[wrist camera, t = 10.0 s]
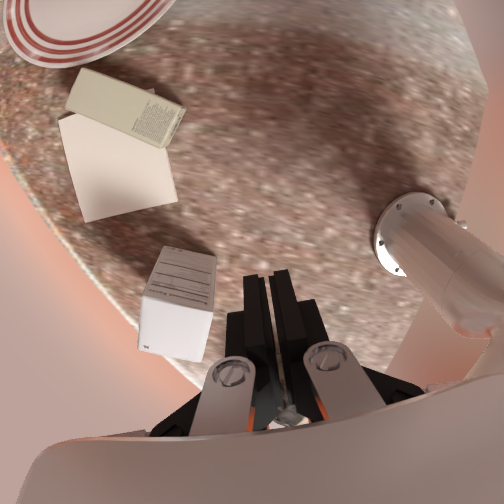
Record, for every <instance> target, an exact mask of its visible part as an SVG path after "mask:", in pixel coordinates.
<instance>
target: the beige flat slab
mask: <svg viewBox="0 0 504 504" xmlns="http://www.w3.org/2000/svg"><path fill="white" fill-rule="evenodd" d="M146 91H149V92H151V93H154V94H155V91H154V88H151V89H148V90H146ZM58 123H59V127H60V132H61V137H62V141H63V146H64V150H65V154H66V158H67V162H68V166H69V170H70V174H71V177H72V181H73V185H74V188H75V192H76V195H77V198H78V202H79V205H80V208H81V211H82V215H83V218H84V221H85V223H87V222H91V221H95V220H99V219H103V218H107V217H111V216H115V215H119V214H124V213H128V212H132V211H136V210H141V209H145V208H150V207H154V206H159V205H163V204H168V203H173V202H177V201H178V198H177V193H176V189H175V185H174V181H173V176H172V172H171V168H170V163H169V159H168V154H167V150H166V147H164V148H162V149H159V148H156V147H154V146H152V145H150V144H147V143H145V142H143V141H141V140H138V139H136V138H134V137H132V136H129V135H127V134H125V133H123V132H120V131H118V130H116V129H113V128H111V127H109V126H106V125H104V124H102V123H99V122H97V121H94V120H92V119H90V118H87V117H85V116H82V115H80V114H77V113H76V114H73V115H71V116H68V117H66V118H64V119H61V120H59V121H58Z"/></svg>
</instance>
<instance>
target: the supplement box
mask: <svg viewBox="0 0 504 504" xmlns="http://www.w3.org/2000/svg"><path fill="white" fill-rule="evenodd" d="M216 266H217V257H214V256H210V255H206V254H202V253H197V252H193V251H188V250H184V249H179V248H175V247H170V246H165V245H164V246H163V248H162V250H161V252H160V255H159V257H158V259H157V262H156V264H155V266H154V268H153V271H152V273H151V275H150V277H149V280H148V282H147V284H146V287H145V289H144V292H143V295H142V298H141V308H140V319H139V333H138V346H137V349H138V350H142V351H146V352H150V353H154V354H159V355H163V356H168V357H173V358H178V359H183V360H188V361H193V362H201V361H202V358H203V354H204V350H205V346H206V342H207V338H208V334H209V330H210V326H211V322H212V317H213V311H214V295H215V282H216Z"/></svg>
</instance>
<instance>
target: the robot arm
mask: <svg viewBox="0 0 504 504" xmlns="http://www.w3.org/2000/svg"><path fill="white" fill-rule="evenodd" d="M466 228H467V223H466V221H465V220H462V221H457V222H455V221H454V220H452V219H451V218H449V217H447V213H446V211H445V208H444V207H443V205H442V204H441V202H440V201H439V200H437V199H436V198H435V197H433V196H431V195H430V194H427V193H424V192H409V193H406V194H404V195H401V196H400V197H398V198H396V199H395V200H394V201H393V202H391V203H390V204H389V205H388V206H387V208H386V209H385V210H384V211H383V213H382V214H381V216H380V218H379V220H378V222H377V225H376V228H375V232H374V243H373V244H374V251H375V254H376V256H377V259H378V260H379V262H380V263H381V264H382V266H383V267H384V268H385V269H386V270H388V271H389V272H391V273H393V274H395V275H400V276H407V277H408V278H409V279H410V280H411V281H412V283H413V284H414V285H415V286H416V287H417V288H418V289H419V290H420V292H421V293H422V294H423V295H424V296H425V297H426V298H427V299H428V301H429V302H430V303H431V304H432V305H433V307H434V308H435V309H436V310H437V311H438V312H439V314H440V315H441V316H442V317H443V318H444V320H445V321H446V322H447V323H448V324H449V325H450V327H451V328H452V329H453V330H455V331H456V332H457V333H458V334H460V335H462V336H465V337H468V338H473V339H486V338H491V340H490V342H489V344H488V346H487V347H486V349H485V350H484V352H483V353H482V355H481V357H480V358H479V360H478V361H477V362H476V364H475V365H474V366H473V367H472V369H471V370H470V371H469V373H468V374H467V375H466V376H465V378H464V379H463V380H458V381H451V382H445V383H438V384H430V385H427V387H426V389H421V388H420V387H418V386H416V385H414V384H412V383H408V382H406V381H403V380H399V379H397V378H394V377H391V376H388V375H385V374H383V373H380V372H377V371H374V370H372V369H369V368H366V367H363V366H361V365H360V364H359V362H358V361H357V359H356V358H355V356H354V355H353V353H352V352H351V350H350V349H349V348H348V347H347V346H346V345H344V344H342V343H339V342H335V341H329V338H328V335H327V332H326V330H325V327H324V324H323V321H322V318H321V316H320V313H319V310H318V307H317V305H316V302H315V300H314V299H311V300H305V301H300V302H297V300H296V296H295V293H294V289H293V286H292V282H291V279H290V275H289V272H288V269H286V270H280V271H273V272H274V275H273V276H268V277H269V283H270V289H271V296H272V302H273V308H274V315H275V321H276V327H277V334H278V340H279V346H280V353H281V359H282V365H283V372H284V378H285V385H286V391H287V397H288V404H289V406H291V405H295V408H296V414H297V413H298V414H300V415H302V416H304V417H306V418H308V422H309V424H303V425H297V426H291V427H284V428H278V429H270V430H269V424H270V423H271V422H272V421H273V420H274V419H275V418H276V417H278V416H279V415H278V407H284V405H283V398H282V391H281V384H280V377H279V370H278V363H277V355H276V348H275V341H274V335H273V329H272V323H271V317H270V311H269V305H268V299H267V293H266V287H265V281H264V277H260V278H258V274H255V275H249V276H243V290H244V311H238V312H231V313H228V314H227V327H226V348H225V358H223V359H220V360H219V361H217V362H215V363H214V364H213V365H212V366H211V367H210V369H209V371H208V373H207V376H206V379H205V383H204V386H203V389H202V391H201V392H200V393H199V394H198V395H196V396H195V397H194V398H193V399H191V400H190V401H189V402H187V403H186V404H184V405H183V406H182V407H181V408H179V409H178V410H176V411H175V412H174V413H172V414H171V415H170V416H168V417H167V418H166V419H164V420H163V421H161V422H160V423H159V424H157V426H155V427H154V428H153V429H152V431H151V432H146V431H145V430H139V431H133V432H127V433H121V434H115V435H108V436H101V437H86V438H78V439H71V440H67V441H64V442H60V443H57V444H54V445H52V446H49V447H47V448H46V449H44V450H43V451H42V452H41V453H40V454H39V455H38V457H37V458H36V460H35V461H34V462H33V464H32V466H31V468H30V470H29V472H28V474H27V476H26V478H25V481H24V483H23V485H22V488H21V491H20V494H19V496H18V499H17V502H16V504H504V256H503V255H501V254H500V253H499V252H497V251H496V250H494V249H493V248H491V247H490V246H488V245H487V244H486V243H484V242H483V241H481V240H480V239H478V238H477V237H475V236H474V235H473V234H471V233H470V232H468V231H467V230H465V229H466Z"/></svg>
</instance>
